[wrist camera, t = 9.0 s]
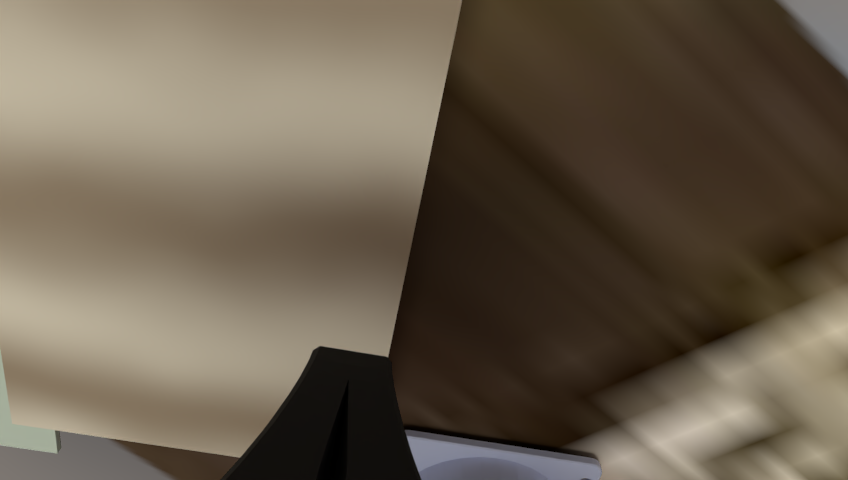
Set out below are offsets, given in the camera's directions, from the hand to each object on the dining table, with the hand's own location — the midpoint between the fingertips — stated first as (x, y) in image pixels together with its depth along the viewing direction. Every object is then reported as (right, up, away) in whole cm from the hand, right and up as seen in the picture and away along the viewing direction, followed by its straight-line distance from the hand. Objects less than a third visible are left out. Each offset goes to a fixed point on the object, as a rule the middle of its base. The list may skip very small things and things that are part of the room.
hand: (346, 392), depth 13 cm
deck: (-4, +5, +8) cm, 10 cm away
